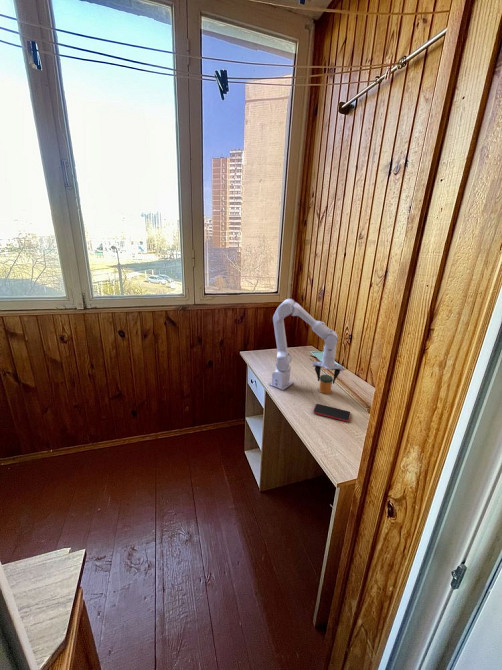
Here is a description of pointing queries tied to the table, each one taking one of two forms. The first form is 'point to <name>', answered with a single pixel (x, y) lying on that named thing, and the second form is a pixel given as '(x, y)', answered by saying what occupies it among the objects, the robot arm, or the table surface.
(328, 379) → the honey lid
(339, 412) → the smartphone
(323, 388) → the honey jar
